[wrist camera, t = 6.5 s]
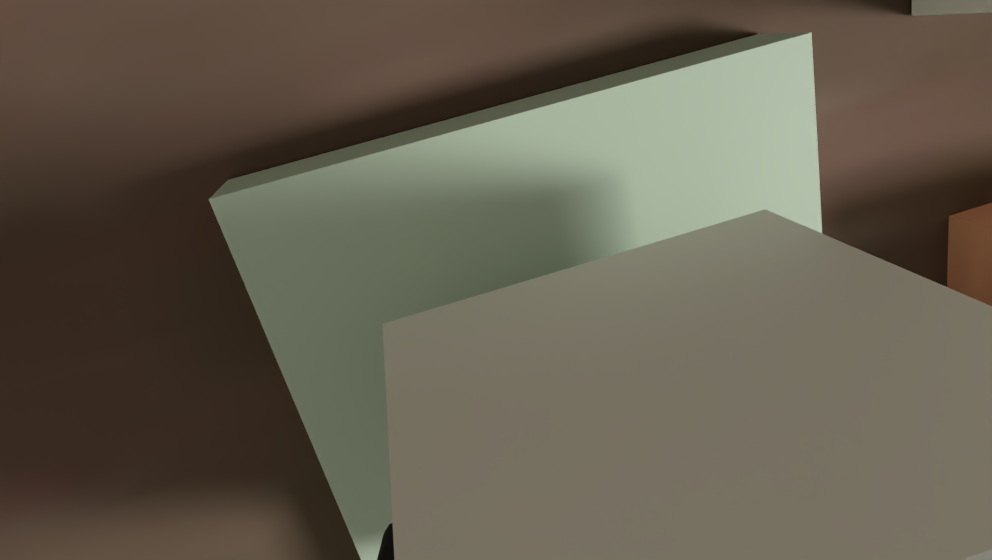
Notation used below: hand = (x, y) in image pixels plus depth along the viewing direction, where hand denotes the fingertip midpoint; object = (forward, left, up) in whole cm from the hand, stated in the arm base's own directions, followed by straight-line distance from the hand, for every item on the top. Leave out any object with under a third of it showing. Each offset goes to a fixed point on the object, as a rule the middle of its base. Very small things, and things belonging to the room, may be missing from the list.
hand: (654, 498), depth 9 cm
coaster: (0, 0, -5) cm, 5 cm away
